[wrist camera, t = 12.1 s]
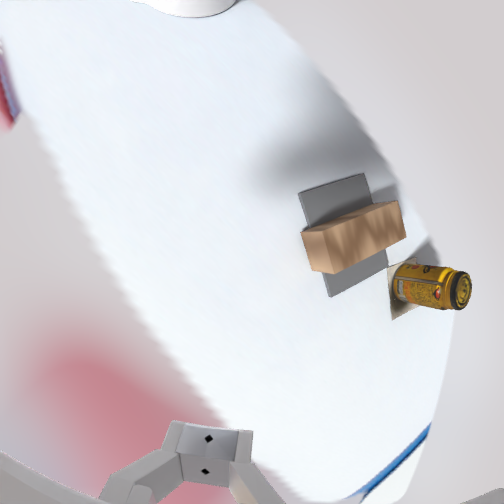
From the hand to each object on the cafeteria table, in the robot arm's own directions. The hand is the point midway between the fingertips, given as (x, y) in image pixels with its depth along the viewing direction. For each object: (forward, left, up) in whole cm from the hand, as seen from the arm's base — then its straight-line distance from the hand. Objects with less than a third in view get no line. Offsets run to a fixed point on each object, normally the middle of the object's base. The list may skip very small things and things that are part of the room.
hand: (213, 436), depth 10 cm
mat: (0, +25, -25) cm, 35 cm away
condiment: (+12, +34, -25) cm, 44 cm away
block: (0, +18, -22) cm, 28 cm away
